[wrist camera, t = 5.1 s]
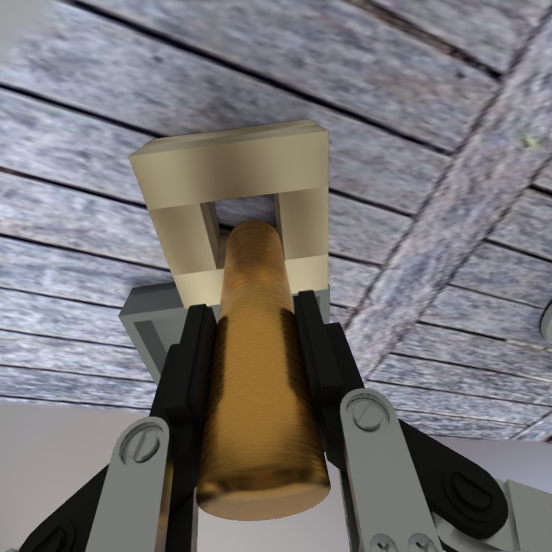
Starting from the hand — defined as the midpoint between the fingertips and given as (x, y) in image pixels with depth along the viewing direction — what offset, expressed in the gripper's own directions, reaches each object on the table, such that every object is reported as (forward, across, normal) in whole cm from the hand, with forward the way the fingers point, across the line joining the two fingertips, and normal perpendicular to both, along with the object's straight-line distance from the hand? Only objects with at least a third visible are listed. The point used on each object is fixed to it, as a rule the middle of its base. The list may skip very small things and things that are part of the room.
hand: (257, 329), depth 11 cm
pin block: (+13, +1, 0) cm, 13 cm away
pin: (+7, 0, 0) cm, 7 cm away
